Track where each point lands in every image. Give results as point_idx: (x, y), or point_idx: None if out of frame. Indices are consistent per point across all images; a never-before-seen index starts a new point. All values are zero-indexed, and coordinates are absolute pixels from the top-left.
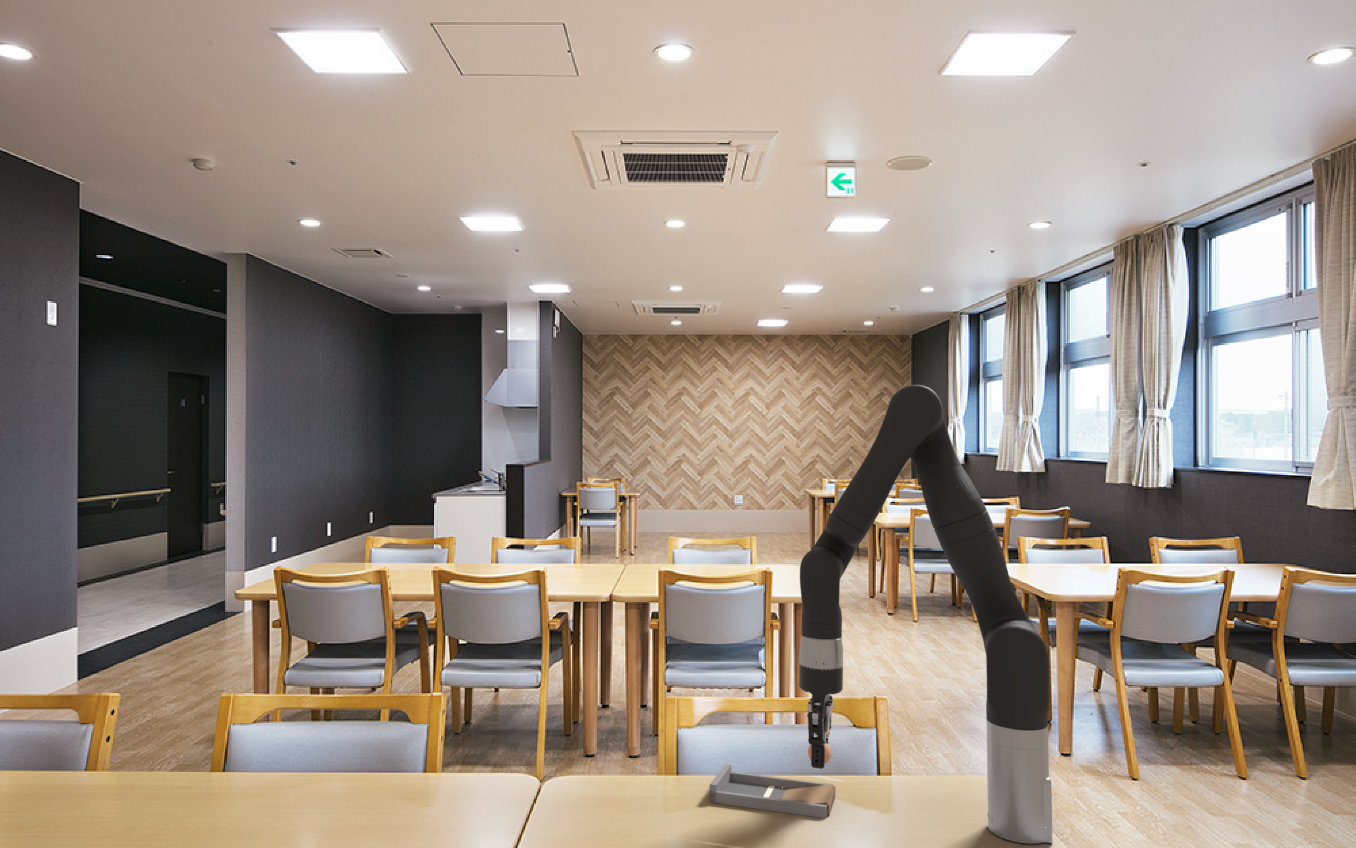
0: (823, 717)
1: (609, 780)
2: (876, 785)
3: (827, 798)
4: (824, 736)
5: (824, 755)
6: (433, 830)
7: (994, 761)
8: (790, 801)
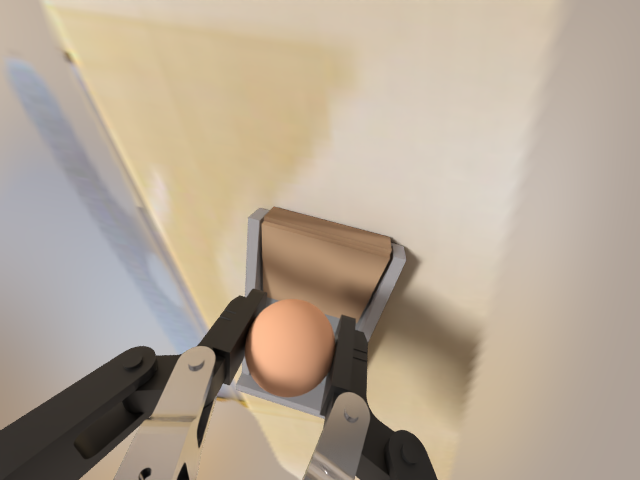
0: None
1: (283, 449)
2: (148, 75)
3: (361, 252)
4: (359, 458)
5: (347, 351)
6: None
7: None
8: (373, 320)
